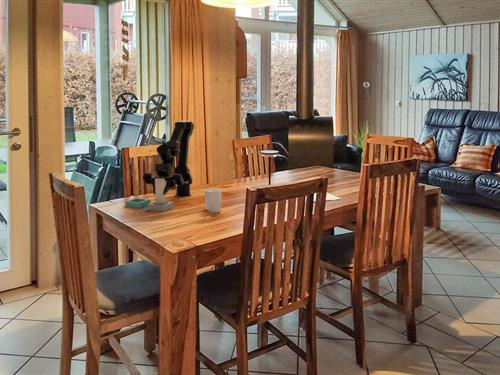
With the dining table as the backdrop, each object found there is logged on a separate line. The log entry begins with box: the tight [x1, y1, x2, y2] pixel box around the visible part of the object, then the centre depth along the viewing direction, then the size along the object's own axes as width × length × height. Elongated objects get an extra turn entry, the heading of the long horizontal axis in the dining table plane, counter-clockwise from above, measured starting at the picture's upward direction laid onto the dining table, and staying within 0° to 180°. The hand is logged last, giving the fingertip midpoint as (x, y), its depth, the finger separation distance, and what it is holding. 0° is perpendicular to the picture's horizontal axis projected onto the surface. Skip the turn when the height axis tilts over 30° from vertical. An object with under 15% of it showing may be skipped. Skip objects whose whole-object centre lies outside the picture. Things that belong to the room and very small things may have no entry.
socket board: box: [123, 197, 175, 213], centre depth 245 cm, size 22×11×4 cm, turn 66°
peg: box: [154, 178, 166, 205], centre depth 241 cm, size 4×4×14 cm
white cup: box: [204, 187, 223, 214], centre depth 241 cm, size 8×8×10 cm
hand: (159, 194), depth 240 cm, fingers closed on peg, 4 cm apart
